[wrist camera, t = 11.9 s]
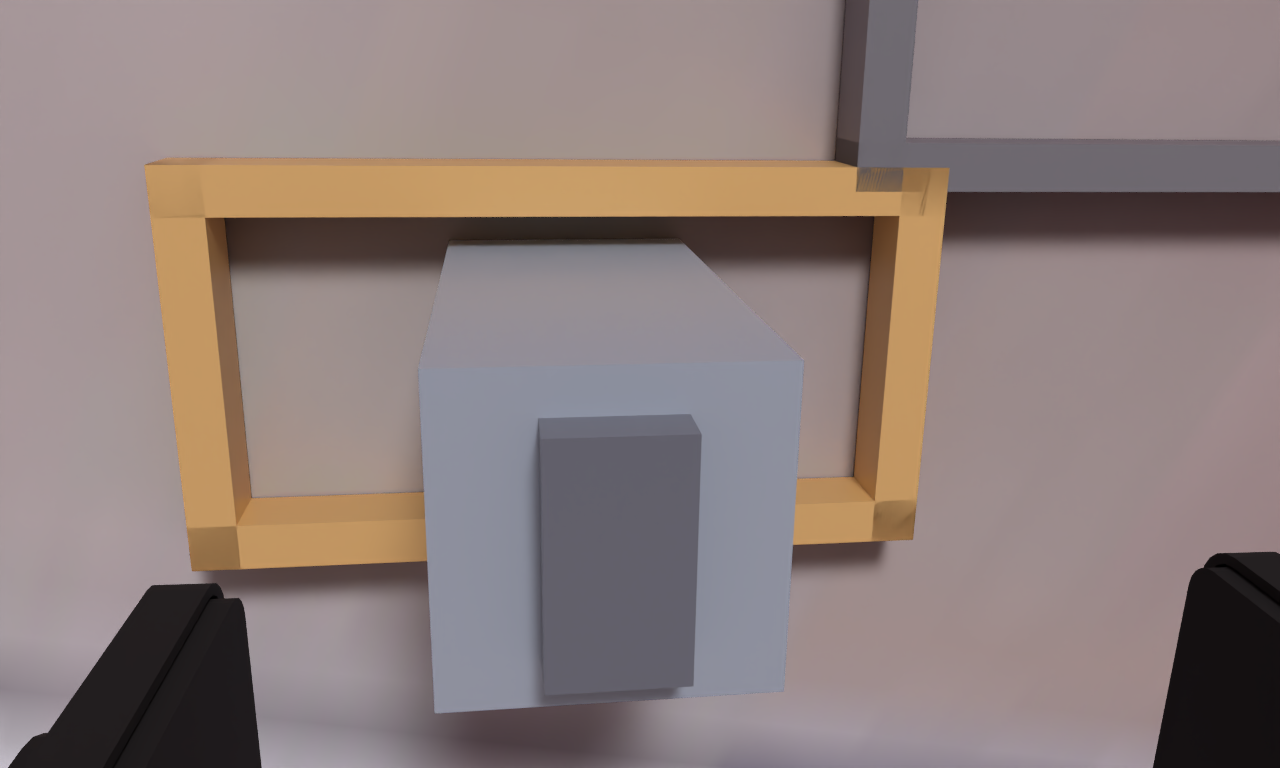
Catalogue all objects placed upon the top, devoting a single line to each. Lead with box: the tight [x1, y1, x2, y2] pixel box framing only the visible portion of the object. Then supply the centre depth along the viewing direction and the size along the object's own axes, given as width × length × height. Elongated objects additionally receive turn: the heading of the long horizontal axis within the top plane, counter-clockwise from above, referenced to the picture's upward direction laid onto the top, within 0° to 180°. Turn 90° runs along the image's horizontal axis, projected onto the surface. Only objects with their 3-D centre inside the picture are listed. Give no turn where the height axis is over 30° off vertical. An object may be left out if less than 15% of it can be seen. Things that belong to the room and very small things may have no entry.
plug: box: [418, 239, 804, 713], centre depth 19 cm, size 5×5×11 cm
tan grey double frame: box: [144, 0, 1280, 571], centre depth 23 cm, size 30×16×2 cm, turn 89°
